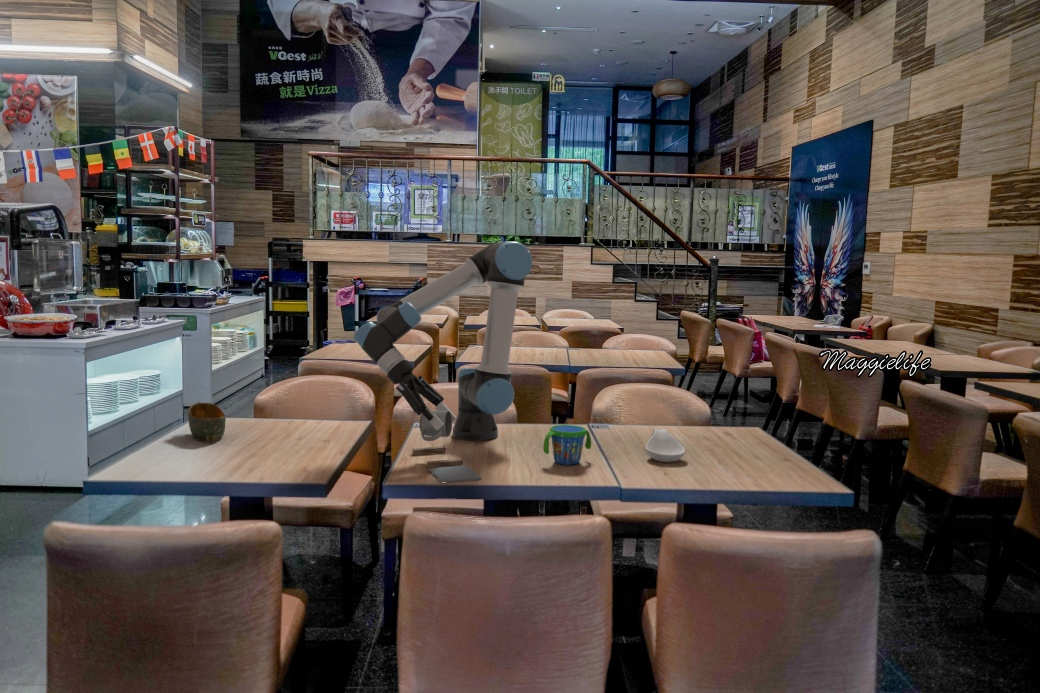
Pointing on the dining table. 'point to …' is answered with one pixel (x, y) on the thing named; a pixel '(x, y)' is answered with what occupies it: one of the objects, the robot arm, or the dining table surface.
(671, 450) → the spoon rest
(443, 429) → the ceramic mug
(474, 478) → the slate mat
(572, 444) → the snack cup
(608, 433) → the dining table surface
